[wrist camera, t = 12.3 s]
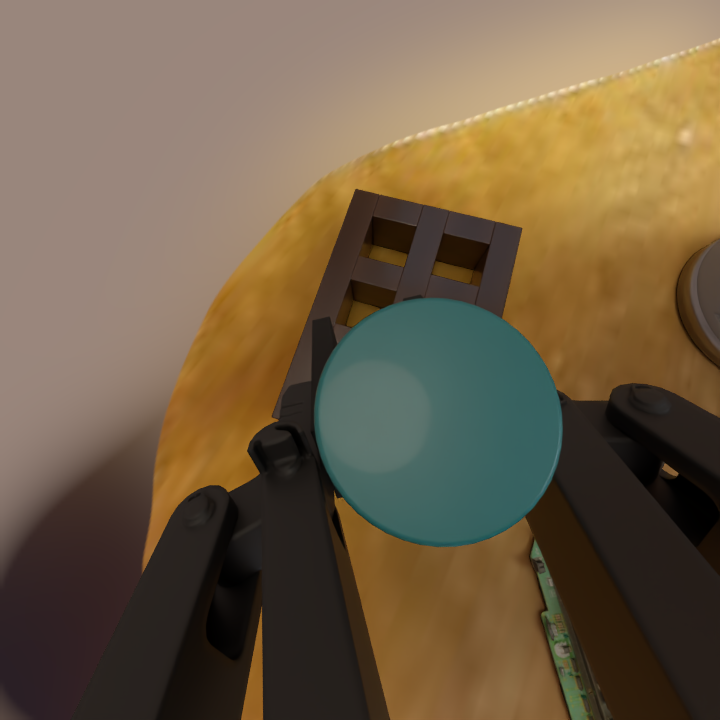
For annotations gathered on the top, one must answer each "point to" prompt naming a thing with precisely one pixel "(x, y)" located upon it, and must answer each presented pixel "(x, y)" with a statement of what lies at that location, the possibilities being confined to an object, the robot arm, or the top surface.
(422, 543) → the peg
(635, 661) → the robot arm
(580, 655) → the keyboard
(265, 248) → the top surface
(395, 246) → the peg board
